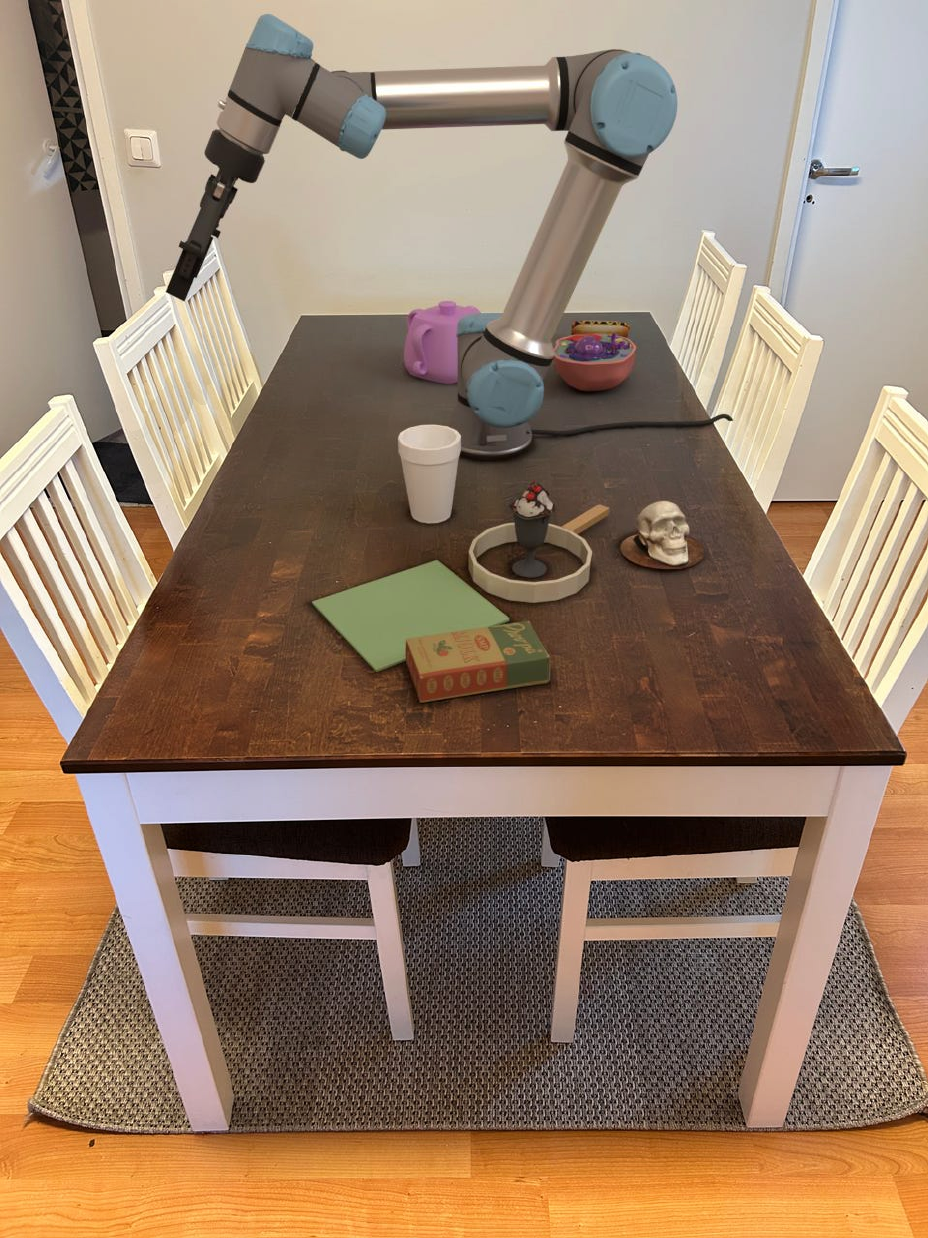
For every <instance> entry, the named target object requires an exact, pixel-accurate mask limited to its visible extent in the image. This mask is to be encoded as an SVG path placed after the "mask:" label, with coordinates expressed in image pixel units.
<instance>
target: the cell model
mask: <svg viewBox="0 0 928 1238" xmlns="http://www.w3.org/2000/svg"><path fill="white" fill-rule="evenodd" d="M553 349H554V352H555V356H554V358H553V367H554V369H555V371H556V372H557V374H558V375H559V376H560V377H561V378H562V380H563V381H564V382H565V383H566V384H567V385H569V386H570V387H572V388H573V389H575V390H577V391H580V392H585V393H586V392H601V391H606V390H611V389H613V388H616V387H617V386H619V385H620V384H621V383H623V382H624V381H625V380H626V379H627V378H629V377H630V375H631V372H632V370H633V368H634V364H635V361H636V355H637V345H636V344H635V343H634V342H633V340H631V339H630V338H628V337H627V338H625V337H620V336H618V335H617V334H579V335H571V334H570V335H568V336H564V337H561V338H558V339H556V341H555V347H553Z"/></svg>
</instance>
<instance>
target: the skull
mask: <svg viewBox="0 0 928 1238" xmlns="http://www.w3.org/2000/svg"><path fill="white" fill-rule="evenodd" d="M635 525H636V529H637V534H636V533H635V534H633V535H631V536H628V537H626V538H625V539H624V540H623V541H622V542H621V544H620V546H619V547H620V548H619V549H620V552H621V554H622V555H623V556H624V557H625V558H627V560H629V561H631V562H633V563H635V564H637V565H639V566H642V567H647V568H651V569H652V568H653V569H659V570H660V569H662V570H679V569H680V570H681V569H684V568H685V569H686V568H689V567H691V566H694V565H696V564H697V563H699V562H700V561H701V560H702V559H703V558H704V554H705V551H704V547H702V545H701V544H700V543H699V542H698V541H696V540H694V539H692V538H690V537H688V536H689V534H690V526H689V524H688V523H687V522H686V516H685V514H684V513H683V512H682V511H681V509H680V507H679V505H677V504H676V503H674V502H672V501H669V500H659V501H655V502H652V503H650V504H649V505H646V507H644V508H643V509H642V510H641V511H640V513H639V514H638V516H637V517H636V524H635Z"/></svg>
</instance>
